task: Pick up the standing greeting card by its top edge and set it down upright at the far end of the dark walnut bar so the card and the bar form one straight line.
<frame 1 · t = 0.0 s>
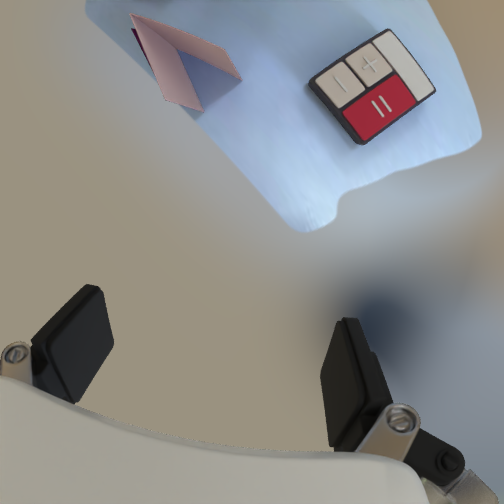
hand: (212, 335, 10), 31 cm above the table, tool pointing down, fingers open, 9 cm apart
greeting card: (208, 70, 33), on the table
calculator: (370, 86, 32), on the table
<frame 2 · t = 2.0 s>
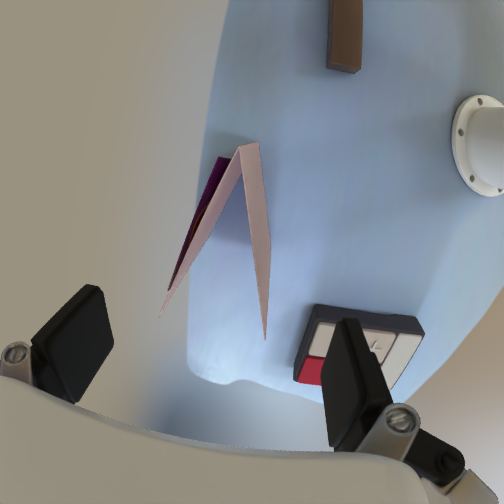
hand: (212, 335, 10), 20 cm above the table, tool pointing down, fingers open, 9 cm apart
walnut bar: (342, 22, 21), on the table
greeting card: (256, 203, 29), on the table
calculator: (355, 342, 35), on the table
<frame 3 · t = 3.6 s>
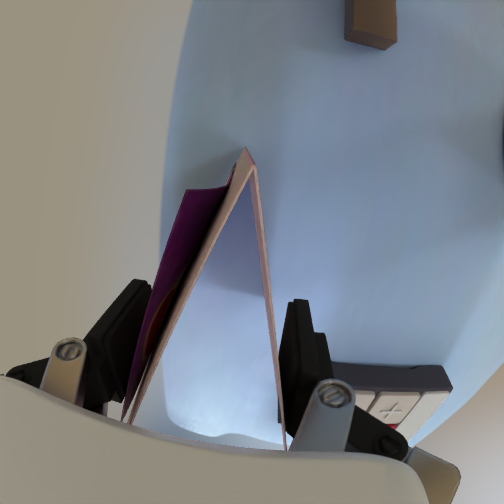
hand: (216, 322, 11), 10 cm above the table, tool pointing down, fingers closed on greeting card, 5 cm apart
greeting card: (243, 237, 20), on the table, touching gripper
calculator: (368, 397, 27), on the table
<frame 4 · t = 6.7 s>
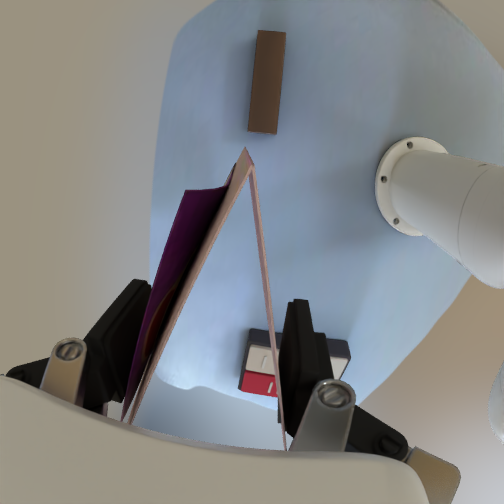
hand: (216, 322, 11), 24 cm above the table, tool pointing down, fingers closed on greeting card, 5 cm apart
walnut bar: (267, 83, 28), on the table
greeting card: (243, 237, 20), point 14 cm above the table, touching gripper
calculator: (291, 360, 42), on the table
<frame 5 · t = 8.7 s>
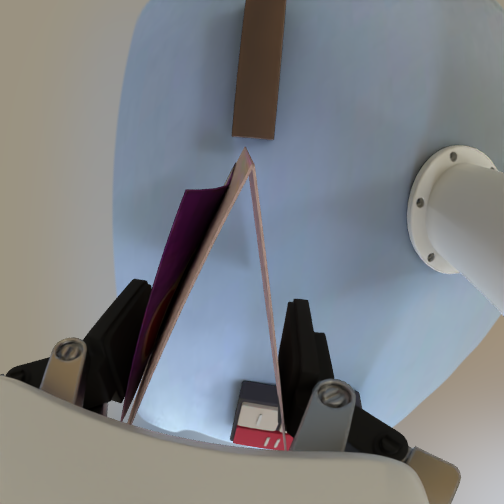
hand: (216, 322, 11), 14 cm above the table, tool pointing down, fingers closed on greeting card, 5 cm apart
walnut bar: (261, 67, 19), on the table
greeting card: (243, 237, 20), point 4 cm above the table, touching gripper
calculator: (292, 410, 34), on the table
when the fingers open (10 cm above the table, at t = 10.1 s): greeting card stays where it is, on the table.
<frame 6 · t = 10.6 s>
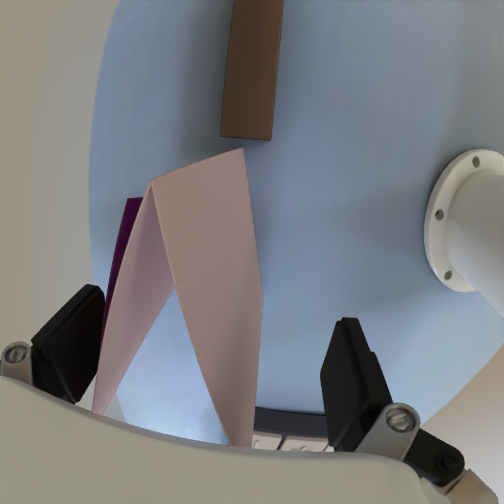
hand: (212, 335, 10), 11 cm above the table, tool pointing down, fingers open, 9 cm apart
walnut bar: (256, 55, 16), on the table
greeting card: (242, 236, 21), on the table
calculator: (291, 432, 30), on the table
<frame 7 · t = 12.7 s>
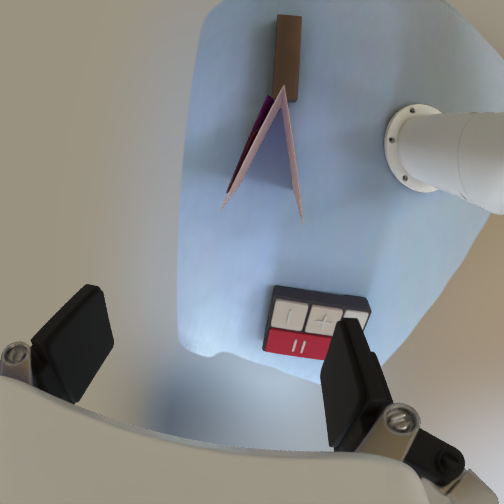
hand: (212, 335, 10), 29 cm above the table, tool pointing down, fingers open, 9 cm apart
walnut bar: (286, 59, 30), on the table
greeting card: (281, 153, 35), on the table
calculator: (314, 319, 45), on the table
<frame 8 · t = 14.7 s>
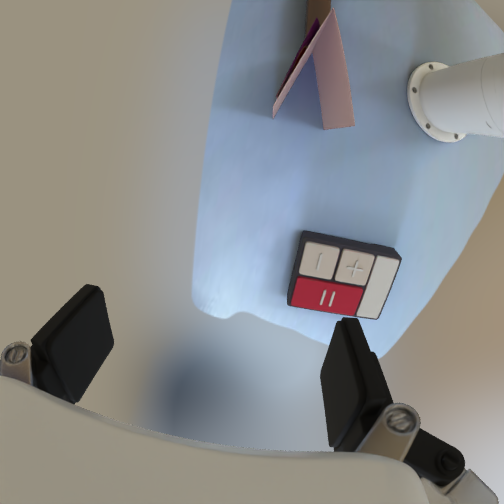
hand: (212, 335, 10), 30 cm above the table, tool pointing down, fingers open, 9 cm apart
walnut bar: (316, 13, 28), on the table
greeting card: (311, 94, 33), on the table
calculator: (340, 271, 42), on the table
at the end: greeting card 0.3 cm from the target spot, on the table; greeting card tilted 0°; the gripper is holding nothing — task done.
